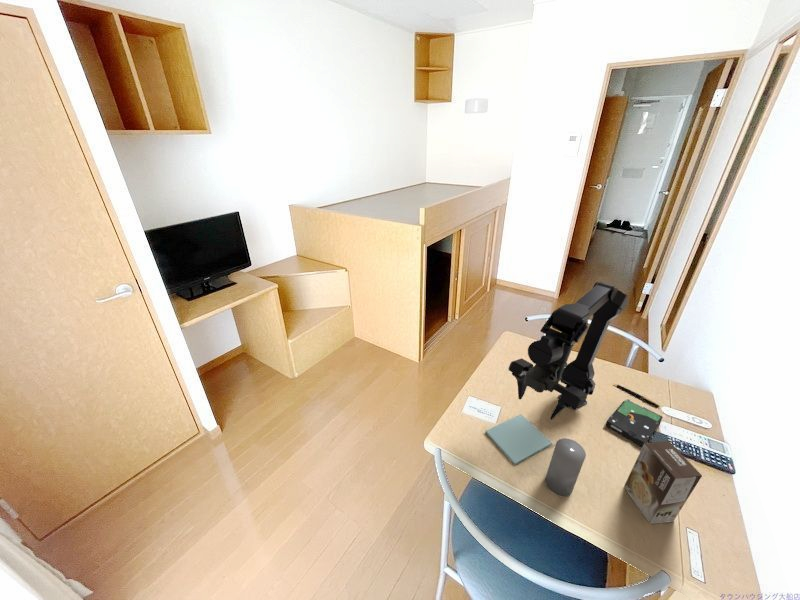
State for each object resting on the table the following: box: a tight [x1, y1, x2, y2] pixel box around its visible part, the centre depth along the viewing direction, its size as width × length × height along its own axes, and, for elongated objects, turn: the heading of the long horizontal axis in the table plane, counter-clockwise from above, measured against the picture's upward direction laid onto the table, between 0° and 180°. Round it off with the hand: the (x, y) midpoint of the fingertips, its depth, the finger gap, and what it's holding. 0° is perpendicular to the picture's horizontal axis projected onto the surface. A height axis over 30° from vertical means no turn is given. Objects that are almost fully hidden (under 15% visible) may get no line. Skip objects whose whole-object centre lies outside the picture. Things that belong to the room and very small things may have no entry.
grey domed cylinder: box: [544, 437, 587, 498], centre depth 80 cm, size 6×6×13 cm
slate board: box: [485, 413, 553, 466], centre depth 95 cm, size 14×12×1 cm
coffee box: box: [623, 440, 703, 525], centre depth 75 cm, size 9×6×16 cm
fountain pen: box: [614, 383, 661, 408], centre depth 110 cm, size 14×1×2 cm, turn 38°
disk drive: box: [604, 399, 663, 448], centre depth 99 cm, size 10×3×15 cm
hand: (535, 408), depth 87 cm, fingers open, 9 cm apart
